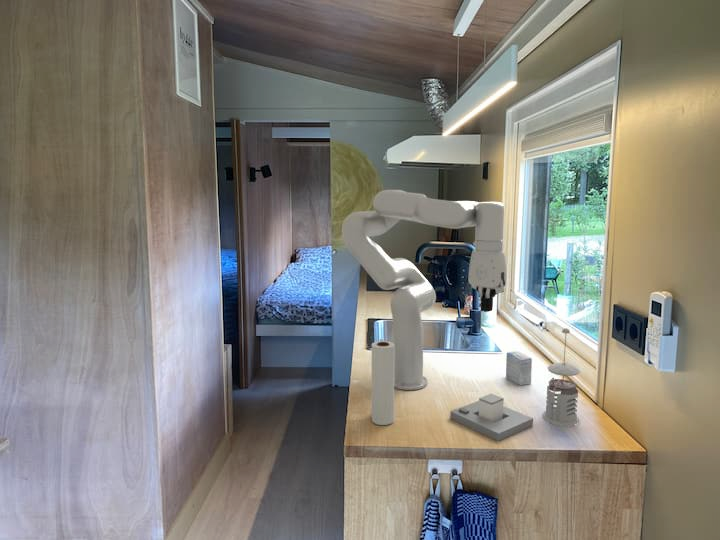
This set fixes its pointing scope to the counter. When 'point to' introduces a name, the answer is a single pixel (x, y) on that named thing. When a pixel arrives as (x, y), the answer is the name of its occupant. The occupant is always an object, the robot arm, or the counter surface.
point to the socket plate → (495, 430)
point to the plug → (491, 407)
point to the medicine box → (518, 368)
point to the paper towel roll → (383, 382)
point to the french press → (562, 394)
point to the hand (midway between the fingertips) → (486, 310)
